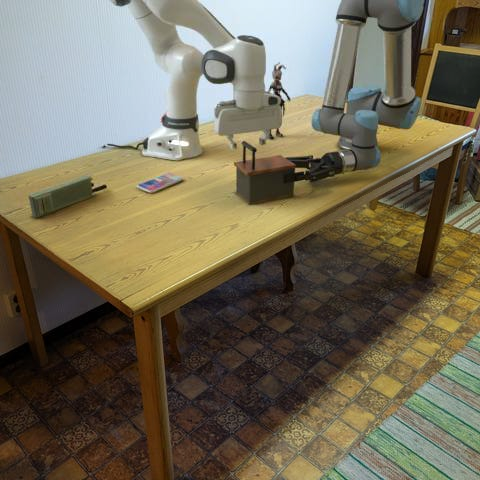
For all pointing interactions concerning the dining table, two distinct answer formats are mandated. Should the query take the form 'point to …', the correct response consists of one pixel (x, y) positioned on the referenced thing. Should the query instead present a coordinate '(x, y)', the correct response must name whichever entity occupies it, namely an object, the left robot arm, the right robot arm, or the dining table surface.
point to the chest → (264, 186)
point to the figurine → (278, 87)
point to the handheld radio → (62, 195)
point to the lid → (261, 162)
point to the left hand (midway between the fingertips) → (248, 146)
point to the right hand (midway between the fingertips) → (277, 173)
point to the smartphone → (159, 182)
